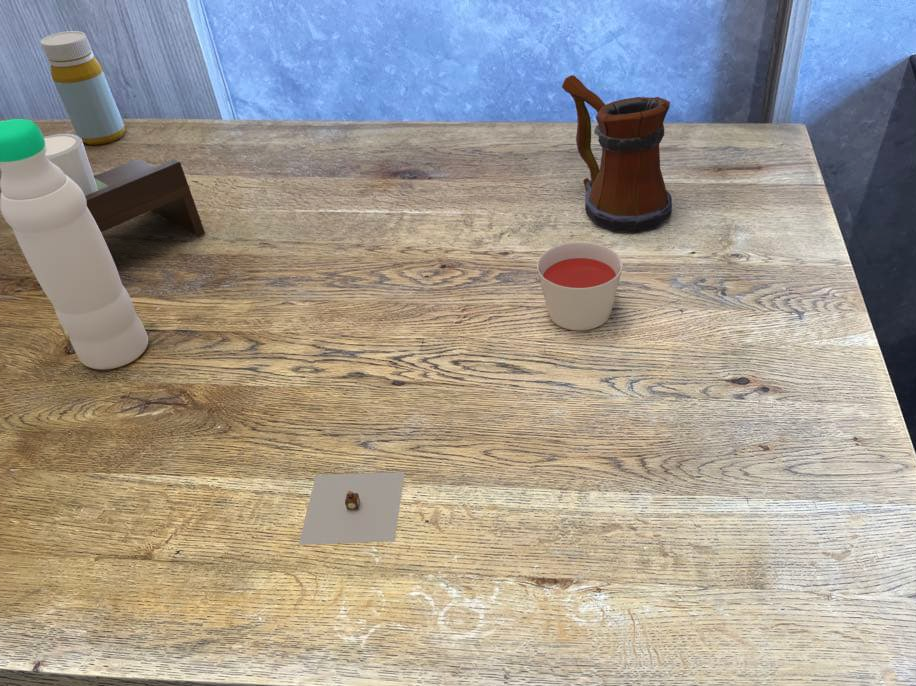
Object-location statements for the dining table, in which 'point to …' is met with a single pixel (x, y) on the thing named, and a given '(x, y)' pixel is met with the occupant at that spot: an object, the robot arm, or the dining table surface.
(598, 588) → the dining table surface
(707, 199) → the dining table surface
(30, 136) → the water bottle
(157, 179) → the shelf
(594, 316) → the candle
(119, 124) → the bottle
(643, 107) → the mug
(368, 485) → the grey flat square
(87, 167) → the shot glass
